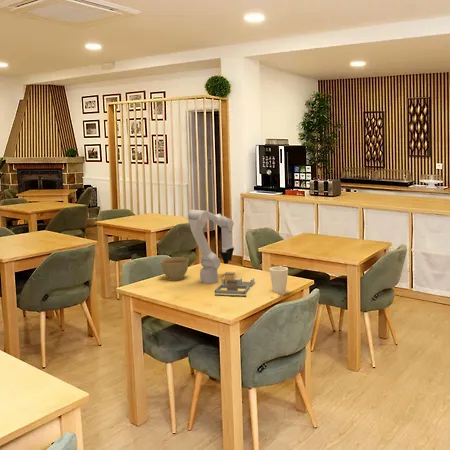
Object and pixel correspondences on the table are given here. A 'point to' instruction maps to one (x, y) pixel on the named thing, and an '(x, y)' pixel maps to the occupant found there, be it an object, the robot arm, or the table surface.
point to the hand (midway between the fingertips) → (227, 262)
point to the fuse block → (241, 282)
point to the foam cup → (279, 279)
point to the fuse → (229, 276)
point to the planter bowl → (175, 267)
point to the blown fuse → (232, 285)
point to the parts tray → (231, 291)
